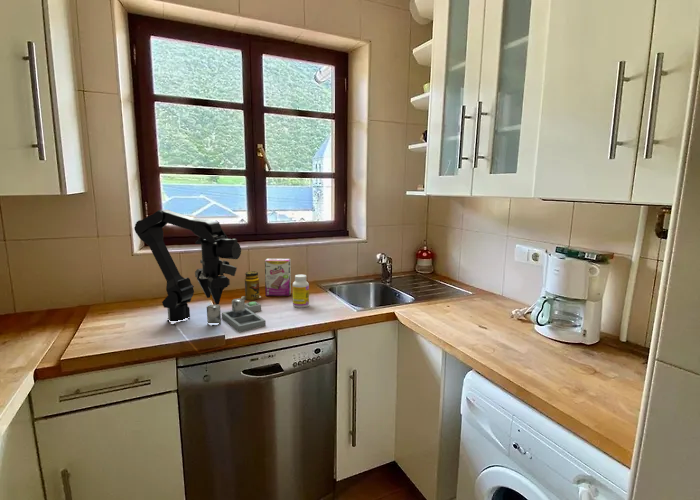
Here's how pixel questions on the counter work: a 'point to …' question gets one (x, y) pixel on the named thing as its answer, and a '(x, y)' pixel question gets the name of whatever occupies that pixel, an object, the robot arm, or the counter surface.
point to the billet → (213, 314)
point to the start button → (252, 303)
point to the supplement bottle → (300, 292)
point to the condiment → (251, 286)
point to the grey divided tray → (244, 320)
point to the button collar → (253, 307)
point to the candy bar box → (277, 277)
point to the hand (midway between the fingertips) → (212, 300)
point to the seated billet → (238, 307)
